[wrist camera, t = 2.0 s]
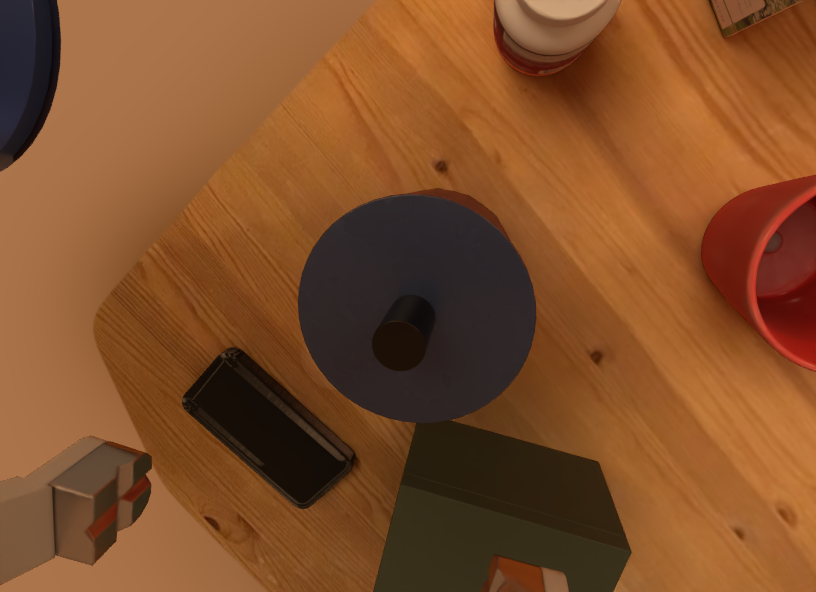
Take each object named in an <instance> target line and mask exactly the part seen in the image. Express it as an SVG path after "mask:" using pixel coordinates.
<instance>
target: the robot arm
mask: <svg viewBox="0 0 816 592" xmlns="http://www.w3.org/2000/svg"><path fill="white" fill-rule="evenodd" d="M151 468H152V456H150V455H149V454H148V453H145V452H142V451H138V450H136V449H132V448H129V447H126V446H123V445H120V444H117V443H114V442H109V441H106V440H103V439H100V438H96V437H94V436H88V437H83V438H82V439H80V440H79V441H77V442H76V443H75V444H73V445H71V446H70V447H68V448H67V449H66V450H64V451H63V452H61V453H60V454H58V455H57V456H55V457H54V458H52V459H51V460H50V461H48V462H47V463H45V464H44V465H42V466H41V467H40V468H38V469H37V470H35V471H34V472H32V473H31V474H29V475H28V476H26V477H25V478H21V477H18V476H17V477H14V478H10V479H7V480H3V481H0V585H2V584H4V583H6V582H8V581H10V580H12V579H13V578H16V577H18V576H20V575H21V574H24V573H25V572H27V571H29V570H31V569H33V568H35V567H37V566H39V565H41V564H43V563H45V562H47V561H49V560H51V559H53V558H55V555H57V556H60V557H64V558H67V559H71V560H74V561H78V562H81V563H85V564H89V565H93V564H94V563H95V562H96V561H97V560H98V559H99V558H100V557H101V556H102V555H103V554H104V553H105V552H106V551H107V550H108V549H109V548H110V547H111V546H112V545H113V544H114V543H115V542H116V538H117V531H120V530H122V529H124V528H127V527H129V526H131V525H132V524H133V523H134V522H135V521H136V520H137V519H138V518H139V517H140V515H141V514H142V512H143V510H144V509H145V507H146V505H147V503H148V500H149V497H150V494H151V483H150V481H149V479H148V478H147V476H146V473H147V472H148V471H149V470H150V469H151ZM481 592H569V589H568V584H567V579H566V576H565V575H564V573H563V572H559V571H555V570H552V569H548V568H544V567H541V566H540V567H539V566H537V565H533V564H529V563H526V562H522V561H519V560H515V559H512V558H508V557H504V556H501V555H497V554H494V555H493V557H492V559H491V562H490V565H489V579H488V580H487V581H485V582H484V583H483V586H482V589H481Z"/></svg>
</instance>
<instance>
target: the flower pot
mask: <svg viewBox="0 0 816 592" xmlns="http://www.w3.org/2000/svg"><path fill="white" fill-rule="evenodd" d="M701 254H702V261H703V265H704V268H705V270H706V272H707V275H708V276H709V278H710V279H711V281H712V282H713V283H714V285H715V286H716V287H717V289H718V290H719V291H720V292H721V294H722V295H723V296H724V297H725V298H726V300H727V301H728V302H729V303H730V304H731V305H732V306H733V307H734V308H735V309H736V311H737V312H738V313H739V314H740V315H741V316H742V317H743V318H744V319H745V320H746V321H747V322H748V323H749V324H750V325H751V326H752V327H753V329H754V330H755V331H756V332H757V333H758V334H759V335H760V336H761V337H762V338H763V339H764V340H765V341H766V342H767V343H768V344H769V345H770V346H771V347H772V348H773V349H775V350H776V351H777V352H778V353H779V354H781V355H782V356H783V357H785V358H786V359H788V360H790V361H791V362H793V363H795V364H797V365H799V366H801V367H804V368H806V369H808V370H811V371H814V372H816V175H812V176H807V177H803V178H798V179H794V180H789V181H785V182H781V183H776V184H772V185H767V186H763V187H759V188H756V189H752V190H750V191H747V192H745V193H743V194H741V195H739V196H737V197H735V198H734V199H732V200H731V201H730V202H728V203H727V204H726V205H724V206H723V207H722V208H721V209H720V210H719V211H718V212H717V214H716V215H715V216H714V217H713V219H712V220H711V222H710V224H709V225H708V228H707V230H706V232H705V235H704V238H703V243H702V252H701Z"/></svg>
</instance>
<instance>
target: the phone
mask: <svg viewBox="0 0 816 592" xmlns="http://www.w3.org/2000/svg"><path fill="white" fill-rule="evenodd" d="M182 405H183V407H184V409H185V410H186V411H187V412H188V413H189V414H190V415H191V416H192V417H194V418H195V419H196V420H197V421H198V422H199V423H200V424H202V425H203V426H204V427H205V428H206V429H207V430H208V431H210V432H211V433H212V434H213V435H214V436H215V437H216V438H218V439H219V440H220V441H221V442H222V443H223V444H224V445H225V446H227V447H228V448H229V449H230V450H231V451H232V452H233V453H235V454H236V455H237V456H238V457H239V458H240V459H241V460H243V461H244V462H245V463H246V464H247V465H248V466H249V467H250V468H252V469H253V470H254V471H255V472H256V473H257V474H258V475H260V476H261V477H262V478H263V479H264V480H265V481H266V482H268V483H269V484H270V485H271V486H272V487H273V488H274V489H275V490H277V491H278V492H279V493H280V494H281V495H282V496H283V497H285V498H286V499H287V500H288V501H289V502H290V503H291V504H292V505H294V506H295V507H297V508H300V509H306V508H309V507H310V506H311V505H313V504H314V503H315V502H316V501H317V500H318V499H319V498H321V497H322V496H323V495H324V494H325V493H326V492H327V491H329V490H330V489H331V488H332V487H333V486H334V485H336V484H337V483H338V482H339V481H340V480H341V479H342V478H344V477H345V476H346V475H347V474H348V473H349V472H350V471H351V469H352V466H353V464H354V461H355V455H354V453H353V452H352V450H351V449H350V448H349V447H348V446H346V445H345V444H344V443H343V442H342V441H341V440H340V439H339V438H338V437H336V436H335V435H334V434H333V433H332V432H331V431H330V430H329V429H328V428H327V427H325V426H324V425H323V424H322V423H321V422H320V421H319V420H318V419H317V418H315V417H314V416H313V415H312V414H311V413H310V412H309V411H308V410H307V409H306V408H304V407H303V406H302V405H301V404H300V403H299V402H298V401H297V400H296V399H294V398H293V397H292V396H291V395H290V394H289V393H288V392H287V391H286V390H285V389H283V388H282V387H281V386H280V385H279V384H278V383H277V382H276V381H275V380H273V379H272V378H271V377H270V376H269V375H268V374H267V373H266V372H265V371H264V370H262V369H261V368H260V367H259V366H258V365H257V364H256V363H255V362H254V361H253V360H251V359H250V358H249V357H248V356H247V355H246V354H245V353H244V352H243V351H241V350H240V349H237V348H229V349H227V350H225V351H224V352H223V353H221V354H220V355H219V356H218V357H217V358H216V359H215V360H214V361H213V362H212V364H211V365H210V366H209V367H208V368H207V369H206V371H205V372H204V373H203V374H202V375H201V376H200V377H199V379H198V380H197V381H196V382H195V383H194V384H193V385H192V387H191V388H190V389H189V390H188V391H187V392H186V393H185V395H184V396H183V398H182Z"/></svg>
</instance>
